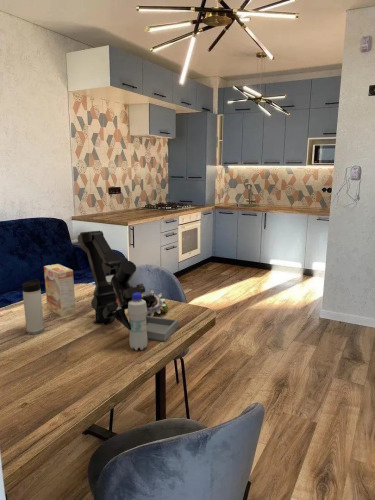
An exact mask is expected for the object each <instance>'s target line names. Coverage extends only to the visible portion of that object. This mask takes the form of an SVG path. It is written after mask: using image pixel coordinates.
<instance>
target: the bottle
mask: <svg viewBox="0 0 375 500" xmlns="http://www.w3.org/2000/svg"><path fill="white" fill-rule="evenodd" d="M142 297H143V293H142V294H141V293H139V292H136V293H133V294H132V300H131V301H129V303H128V309H127V316H128V321H129V324H130V326H131V330H128V331H129V333H128V334H129V335H128V336H129V337H128V339H129V340H128V341H129V346H130V349H131V350H135V351H138V349H140V351H143V350H144V349H146V348H147V346H148V339H147V325H146V315H147V306H146V301H145V300H142ZM147 316H148V315H147Z"/></svg>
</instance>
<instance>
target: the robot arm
mask: <svg viewBox="0 0 375 500" xmlns="http://www.w3.org/2000/svg"><path fill="white" fill-rule="evenodd" d="M77 242H78V244H79V245H80V248H81V250H82V251H84V252H85V253H86V255H87V258H88V262H89V266H90V271H91V273H92V279H93V282H94V285H95V288H94V290H93V297H92V299H91V301H90V304H91V308H92V309H93V310H94V313H95V319H94V321H93V323H94V324H100V325H109V324H111V323H112V322H114V320H117V321H118V322H119V323H121V324H122V325H123V327H125V328H126V329H127V330H128V331H129V330H131V326H130V324H129V318H128V317H127V315H126V310H128V303H129V301H131V300H132V294H133V293H136V292H139V293H141V294H142V295H143V293H146V288H145V286H144V284H143V283H139V284H136V286H134V287H133V285H131V284H130V281H131V280H132V278H133V276H134V274H135V273H136V271H137V266H136V264H135V263H134V262H132V261H130V260H128V257H126V258H122V257H121V256H120V255H119V254H117V253H115V252H114V250H112V248H111V246H110V244H109V242H107V240H106V238H105V236H104V233H103V231H102V230H91V231H90V230H89V231H82V232H80V233H79V234H78V236H77ZM111 275H114V276H113V277H112V279H111V282H110V284H109V283H108V282H107V280H106V276H111ZM113 287H114V288H113ZM114 290H115V291H114ZM115 292H116V293H115ZM146 295H147V294H146ZM154 295H155V294H154ZM154 295H152V294H151V295H147V296H144V297H143V296H142V297H143V298H142V300H145V301H146V306H147V308H150V307H152V305H153V304H154V303H155V301H156V298H155V296H156V295H155V296H154ZM116 299H118V300H119V302H120V305H118V304H117V303H116ZM147 316H148V315H146V325H147Z"/></svg>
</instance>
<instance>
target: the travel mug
mask: <svg viewBox="0 0 375 500" xmlns="http://www.w3.org/2000/svg"><path fill="white" fill-rule="evenodd" d="M21 288H22V300H23V307H24V319H25V328H26V329H25V330H26V333H27V334H28V333H29V334H28V335H38V334H37V333H39V334H40V333H43V332H44V331H45V324H44V323H45V322H44V314H43V302H42V291H41V282H40V279H39V278H34V279H30V280H27V281H24V282H23V283H22V284H21Z"/></svg>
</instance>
